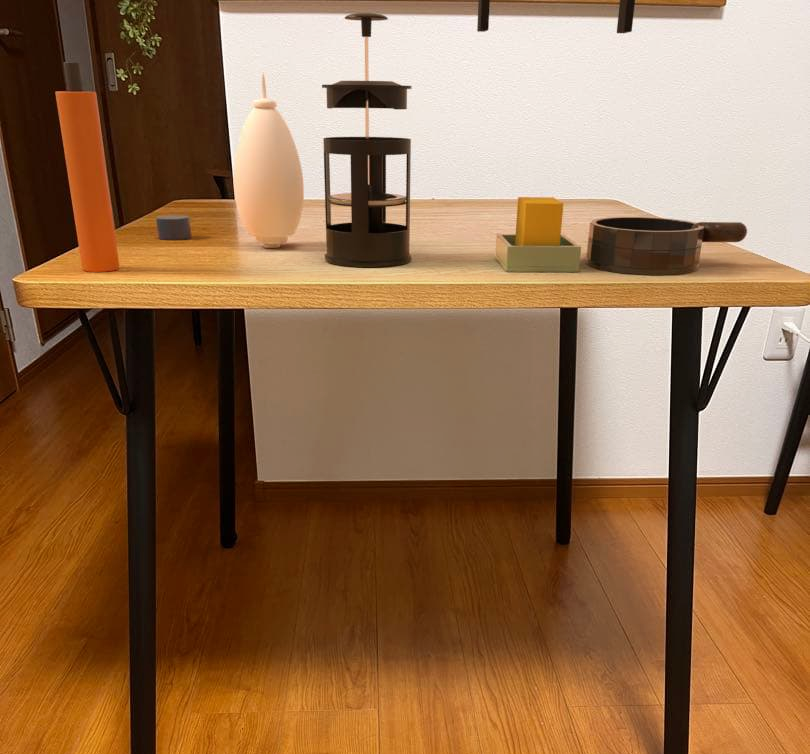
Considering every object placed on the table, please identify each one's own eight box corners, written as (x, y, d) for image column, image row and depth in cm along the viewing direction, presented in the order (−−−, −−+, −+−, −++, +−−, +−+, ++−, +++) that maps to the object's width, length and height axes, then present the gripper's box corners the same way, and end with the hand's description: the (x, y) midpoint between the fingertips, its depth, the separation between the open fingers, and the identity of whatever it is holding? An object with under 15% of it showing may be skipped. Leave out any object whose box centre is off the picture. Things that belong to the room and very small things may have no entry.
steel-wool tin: (198, 237, 108) (196, 216, 107) (172, 241, 106) (170, 220, 104) (177, 234, 111) (175, 214, 109) (151, 237, 108) (149, 217, 107)
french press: (403, 270, 90) (406, 8, 79) (314, 266, 91) (305, 8, 80) (418, 252, 100) (422, 18, 90) (338, 249, 101) (333, 18, 91)
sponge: (514, 255, 95) (517, 197, 93) (548, 256, 96) (553, 197, 93) (521, 264, 91) (525, 202, 88) (558, 264, 91) (563, 203, 88)
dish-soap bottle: (122, 265, 91) (95, 63, 82) (116, 271, 87) (87, 62, 79) (86, 265, 90) (55, 62, 82) (79, 272, 87) (46, 61, 79)
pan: (600, 275, 89) (605, 231, 87) (576, 255, 99) (579, 216, 97) (713, 275, 89) (720, 232, 87) (677, 256, 99) (683, 217, 97)
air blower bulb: (309, 242, 106) (303, 73, 98) (301, 252, 99) (293, 72, 91) (245, 241, 106) (233, 72, 98) (232, 251, 99) (218, 71, 91)
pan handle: (692, 243, 92) (695, 223, 91) (685, 240, 94) (688, 220, 93) (748, 243, 92) (751, 223, 91) (740, 240, 94) (744, 221, 93)
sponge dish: (578, 272, 90) (581, 246, 89) (506, 271, 90) (507, 246, 88) (562, 258, 97) (564, 234, 96) (495, 257, 97) (496, 234, 96)
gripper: (430, -279, 70) (425, 27, 80) (736, -271, 71) (695, 30, 81) (425, -247, 77) (421, 32, 87) (705, -240, 78) (670, 35, 88)
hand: (553, 32), depth 84 cm, fingers open, 13 cm apart
